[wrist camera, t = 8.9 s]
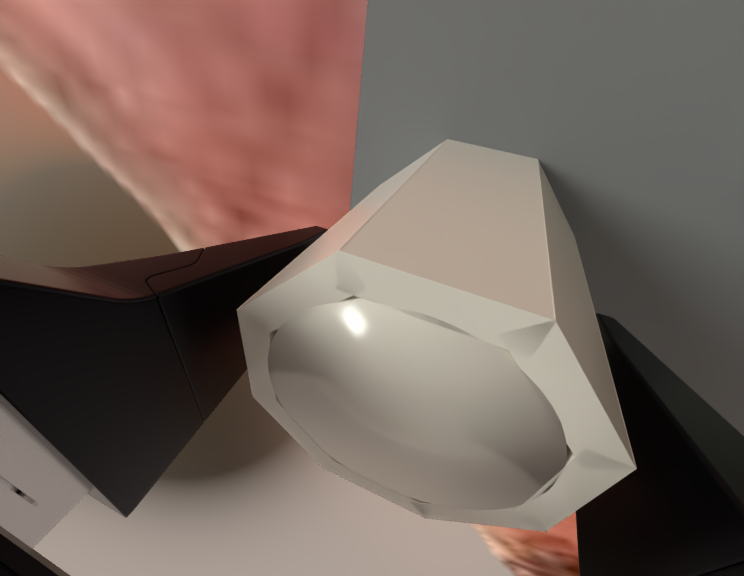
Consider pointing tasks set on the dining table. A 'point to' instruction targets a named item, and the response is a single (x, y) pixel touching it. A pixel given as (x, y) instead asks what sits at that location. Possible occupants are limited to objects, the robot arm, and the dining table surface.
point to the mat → (592, 146)
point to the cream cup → (446, 347)
